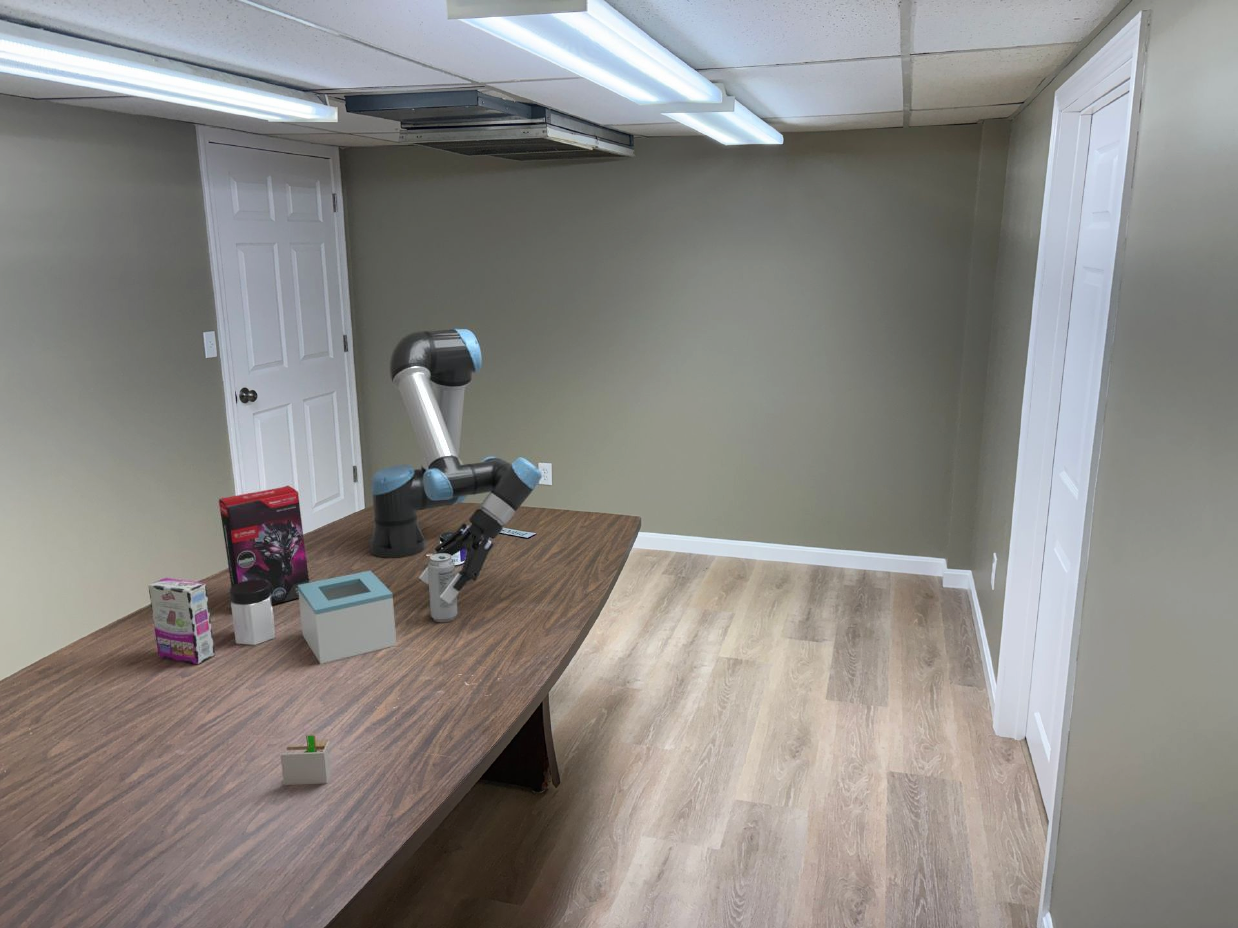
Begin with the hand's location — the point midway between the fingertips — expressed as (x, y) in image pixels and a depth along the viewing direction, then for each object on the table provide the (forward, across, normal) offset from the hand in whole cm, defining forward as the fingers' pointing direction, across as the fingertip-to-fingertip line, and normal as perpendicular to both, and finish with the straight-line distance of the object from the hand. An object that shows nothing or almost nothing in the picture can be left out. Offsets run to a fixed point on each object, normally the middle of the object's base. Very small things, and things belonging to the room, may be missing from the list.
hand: (433, 590), depth 199 cm
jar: (+31, +13, +21) cm, 40 cm away
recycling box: (+19, 0, +9) cm, 21 cm away
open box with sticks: (+34, -48, +22) cm, 63 cm away
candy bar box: (+41, +11, +31) cm, 53 cm away
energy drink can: (+4, 0, -7) cm, 8 cm away
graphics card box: (+26, +32, +16) cm, 44 cm away
